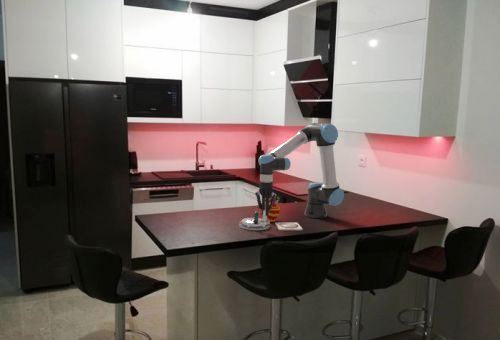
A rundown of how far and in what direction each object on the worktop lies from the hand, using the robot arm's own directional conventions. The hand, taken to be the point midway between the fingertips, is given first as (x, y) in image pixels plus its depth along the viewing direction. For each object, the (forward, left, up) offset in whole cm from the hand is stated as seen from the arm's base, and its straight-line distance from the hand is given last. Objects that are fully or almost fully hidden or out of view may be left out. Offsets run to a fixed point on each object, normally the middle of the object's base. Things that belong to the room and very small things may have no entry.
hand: (264, 220), depth 243 cm
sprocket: (+5, -10, -5) cm, 12 cm away
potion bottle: (-8, -23, -6) cm, 25 cm away
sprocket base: (+5, -10, -6) cm, 12 cm away
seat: (-16, -8, -6) cm, 19 cm away
